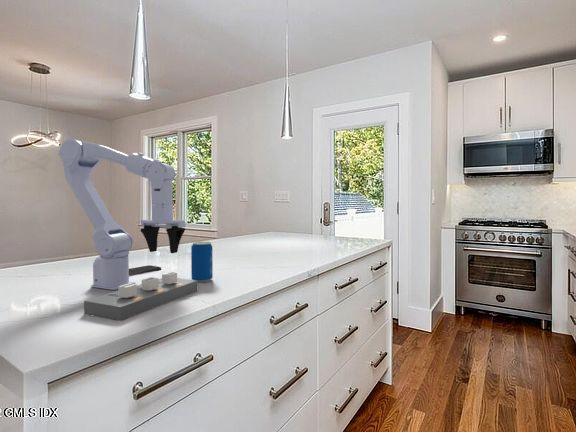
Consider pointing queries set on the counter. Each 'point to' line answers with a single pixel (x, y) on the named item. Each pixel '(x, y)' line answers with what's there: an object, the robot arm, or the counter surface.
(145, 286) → the switch
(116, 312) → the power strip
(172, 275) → the switch
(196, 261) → the beverage can
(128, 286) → the switch
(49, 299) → the counter surface
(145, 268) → the phone
